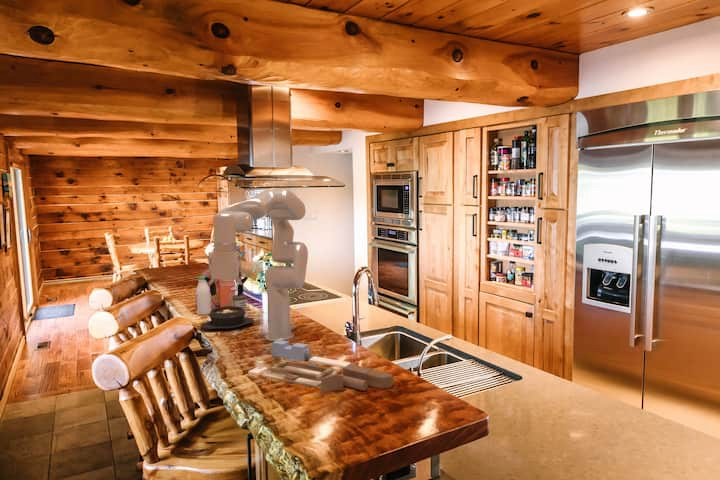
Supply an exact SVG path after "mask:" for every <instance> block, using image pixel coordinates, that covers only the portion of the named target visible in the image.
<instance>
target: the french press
mask: <svg viewBox="0 0 720 480" xmlns="http://www.w3.org/2000/svg"><path fill="white" fill-rule="evenodd" d="M238 285H239V283H238V282H237V285H235V286H234V287H232V288H231V290H232V291H235V292H238ZM243 290H244V291H245V290H247V287H246V286H245V285H243ZM231 294H232V298H233V299H231V305H230V306H237V307H242V308H243V309H244V311H245V312H246V314H245V315H244V317H247V316H248V315H250V313H249V312H248V311H247V307H248V306H247V301H248V300H247V298H246V295H245V294H242V295H241V296H238V294H235V295H233V293H231ZM231 294H230V295H231ZM229 298H230V296H229ZM233 301H235V302H233ZM229 304H230V301H229ZM234 304H235V305H234Z"/></svg>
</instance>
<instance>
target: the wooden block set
mask: <svg viewBox="0 0 720 480" xmlns="http://www.w3.org/2000/svg"><path fill="white" fill-rule="evenodd" d="M342 370H343V371H342V373H343V374H339V373H338V374H330V375H328V376H326V377H324V378H322V379H321V385H320V393H330V392H331V393H332V392H341V391H344V387H346V388H350V389H351V388H352V389H356V390H358V391H361V392H363V391H366V390H367V389H368V387H373V388H377V389H381V390H383V389H384V390H385V389H391V388H393V386H394V374H392V373H389V372H384V371H379V370H375V369H373V368H370V367H369V368H368V367H365V366H359V365H355V364H352V363H351V364H350V365H348V366H346V367H344V368H343V367H342Z"/></svg>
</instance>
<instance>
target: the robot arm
mask: <svg viewBox="0 0 720 480" xmlns="http://www.w3.org/2000/svg"><path fill="white" fill-rule="evenodd" d="M266 215H268V217H269V219H270V220H271V223H272V226H273V230H274V232H273V233H274V234H273V239H272V240H273V241H272V248H271V259H272V261H273V262H275V263H276V264H277V263H279V264H290V265H291V264H292V266H288V265H272V266H269V267H267V269H266V270H265V272H264V282H265V287H266V294H267V295H266V296H267V327H268V328H267V329H268V331H267V332H268V333H266V334H265V335H264V339H265V340H267V341H269V342H275V341H277V340H282V341H290V340H292V339H293V338H294V337H295V333H294V332H292V331H293V330H294V329H296V327H297V326H296V325H295V324H291V305H290V304H291V303H290V302H291V298H290V295H289V293H288V290H287V289H289V290H290V289H291V290H299V289H301V288H302V287H303V286H304V284H305V282H306V281H305V280H306V275H307V267H308V260H309V259H308V257H309V252H308V251H309V250H308V247H307V245H306V244H305V243H304V242H301V241H294V235H295V234H294V233H295V232H294V228H293V226H292V225H291V223H290V222H289V221H300V220H302V219H303V218H304V217H305V215H306V206H305V204H304V201H302V200H301V199H300V198H299V197H298V196H297V195H296V194H295V193H294V192H293V191H291V190H289V189H287V188H267V189H265V190H262V191H260V193H258V194H256V195H254V196H253V197H251V198H250V199H246V200H243V201H240V202H237V203H233V204H231V205H227V206H226V207H223V208H222V209H220V210H219V211H217V213H214V215H213V218H212V225H213V248H214V251H212V252H213V253H212V260H211V268H209V267H208V269H205V270H204V271H202V272H201V276H203V277H204V278H205V280H206V281H207V284H208V286H209V288H210V293H211V296H214V295H215V294H216V284H215V281H216V280H234V281H236V283H237V285H238V283H239V285H238V291H237V295H238V296H241V295H243V294H244V292H245V290H243V286H244V284H245V283H246V282H247V281H248V279H249V278H250V275H251V271H249V270H247V269H245V268H244V267H242V260H241V255H240V251H238V249H240V248H241V244H238V243H237V236H236V235H237V234H236V233H245V232H248V231H250V230H251V229H252V227H253V225H254V221H255V220H259V219H262V218H263V217H265V216H266ZM209 272H211V278H212V279H211V278H210V277H209ZM243 274H244V277H242V276H243Z"/></svg>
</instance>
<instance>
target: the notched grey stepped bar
mask: <svg viewBox="0 0 720 480" xmlns="http://www.w3.org/2000/svg"><path fill="white" fill-rule="evenodd" d="M271 342H272V343H271V345H270V352H271V353H270V354H271V355H270V356H271V357H277V358H282V359H286V360H292V361H294V360H295V361H297V362H306V361H307V360H309V359H310V358H312V352H311V351H310V347H309V344H306V343H301V342H296V343H294V344H292V345H290V344H289V343H290V342H289V340H286V341H282V340H277V341H271Z"/></svg>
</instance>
